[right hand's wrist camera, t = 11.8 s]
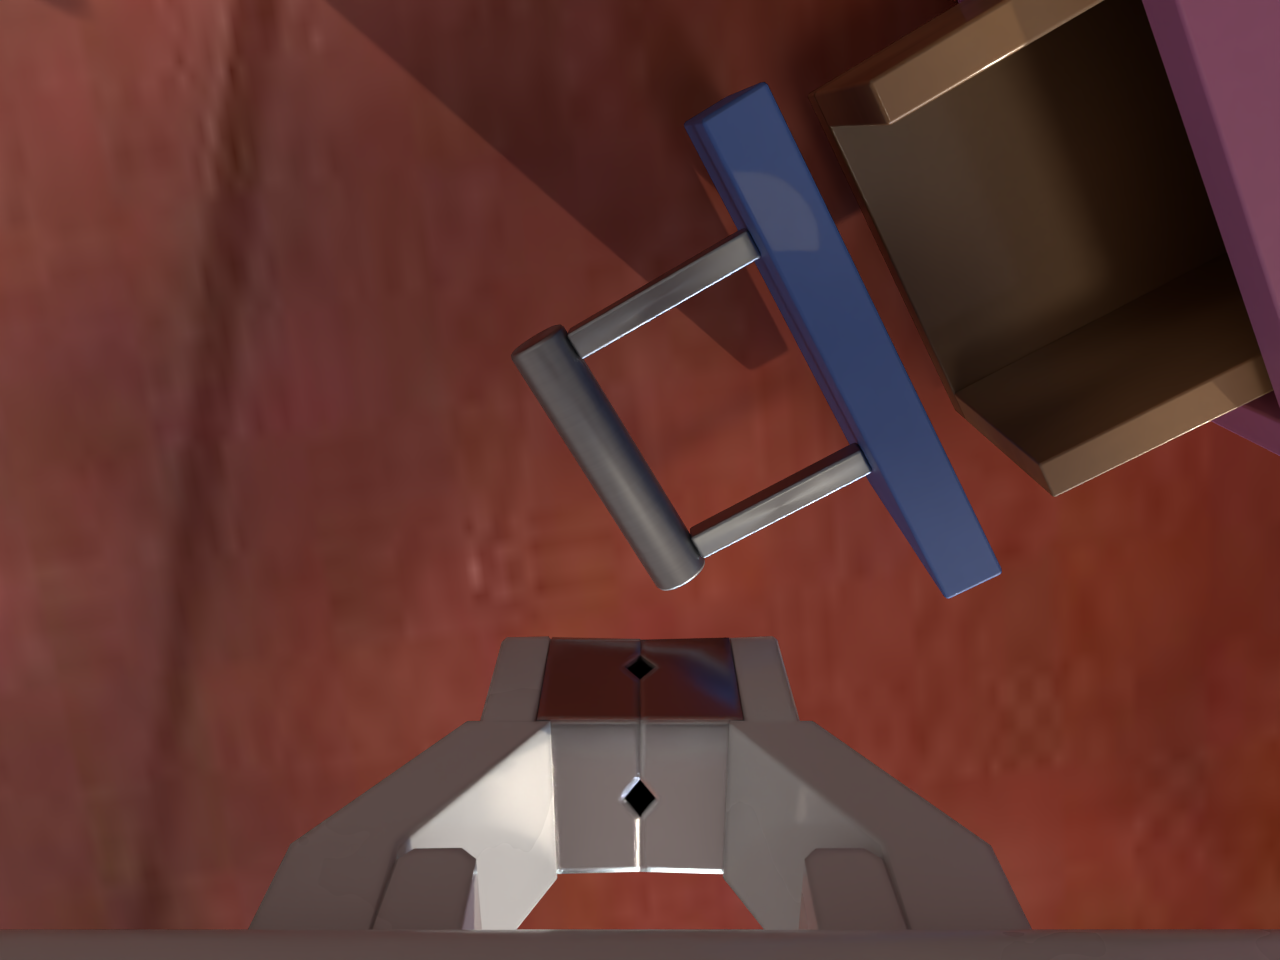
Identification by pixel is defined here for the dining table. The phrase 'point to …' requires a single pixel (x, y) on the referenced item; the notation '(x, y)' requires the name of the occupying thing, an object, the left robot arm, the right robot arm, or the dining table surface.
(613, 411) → the drawer
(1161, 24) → the cabinet
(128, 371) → the dining table surface
